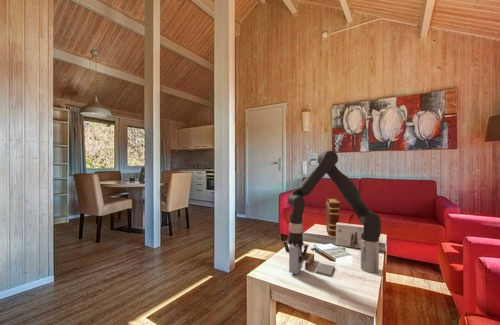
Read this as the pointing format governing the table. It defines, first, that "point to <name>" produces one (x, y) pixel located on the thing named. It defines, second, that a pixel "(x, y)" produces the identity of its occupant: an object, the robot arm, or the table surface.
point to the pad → (325, 269)
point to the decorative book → (332, 216)
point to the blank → (294, 259)
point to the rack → (308, 260)
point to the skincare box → (349, 234)
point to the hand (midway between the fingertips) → (295, 261)
